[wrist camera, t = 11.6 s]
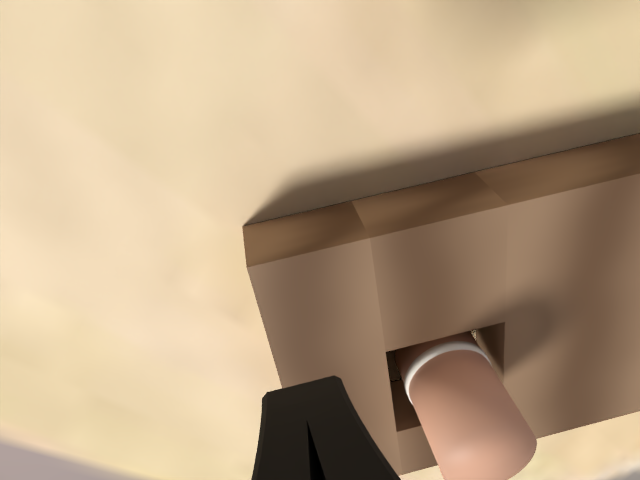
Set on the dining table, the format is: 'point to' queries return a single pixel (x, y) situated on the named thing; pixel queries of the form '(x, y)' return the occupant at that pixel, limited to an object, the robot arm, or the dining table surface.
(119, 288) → the dining table surface
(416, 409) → the peg
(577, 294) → the board
